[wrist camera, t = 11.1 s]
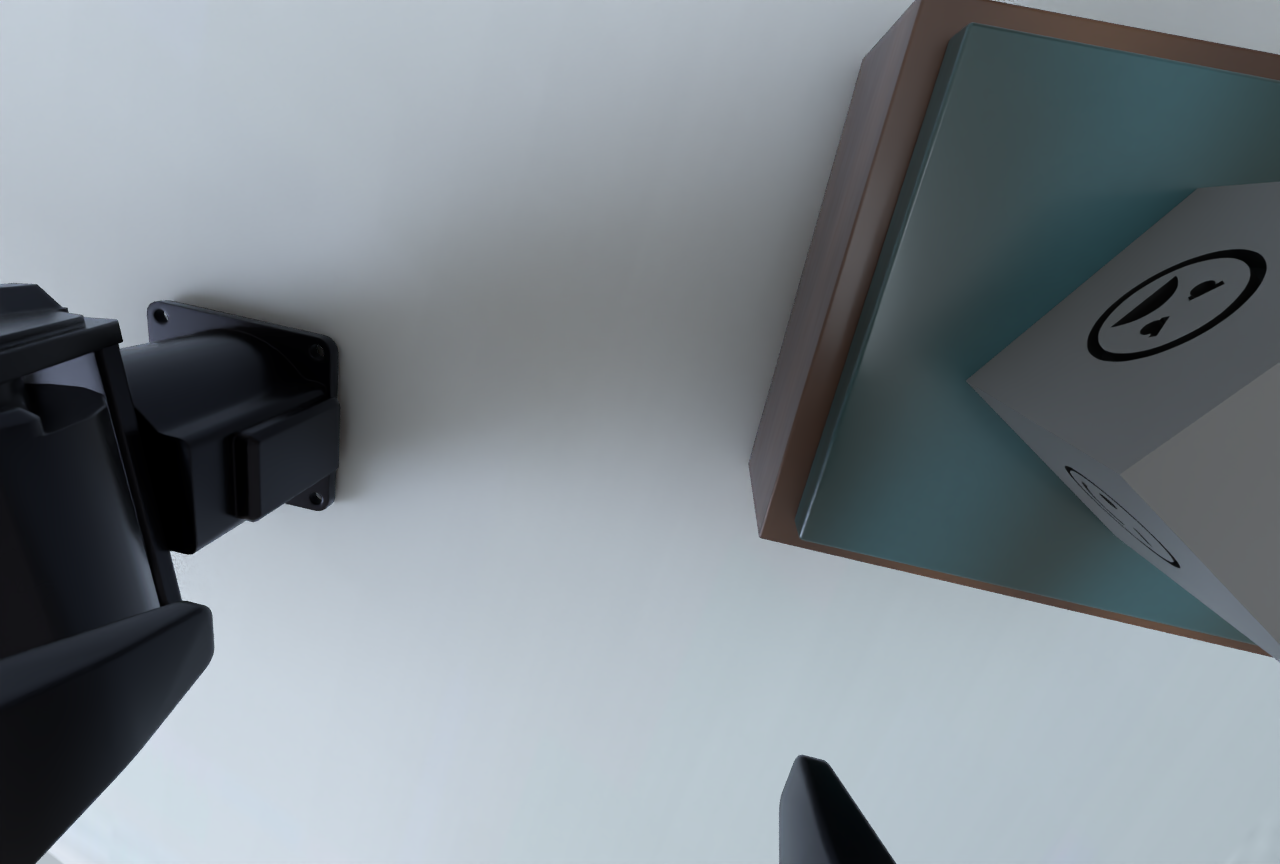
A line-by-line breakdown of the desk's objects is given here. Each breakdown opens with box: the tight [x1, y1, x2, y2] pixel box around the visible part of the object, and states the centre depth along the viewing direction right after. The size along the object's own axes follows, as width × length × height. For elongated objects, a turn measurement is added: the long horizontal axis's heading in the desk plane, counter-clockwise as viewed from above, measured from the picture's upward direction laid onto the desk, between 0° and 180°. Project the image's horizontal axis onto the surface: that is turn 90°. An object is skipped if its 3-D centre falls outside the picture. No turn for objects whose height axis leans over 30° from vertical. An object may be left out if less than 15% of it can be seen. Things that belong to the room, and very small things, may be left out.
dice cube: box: [966, 182, 1280, 662], centre depth 10 cm, size 5×5×5 cm
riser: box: [749, 0, 1280, 657], centre depth 15 cm, size 13×12×6 cm
